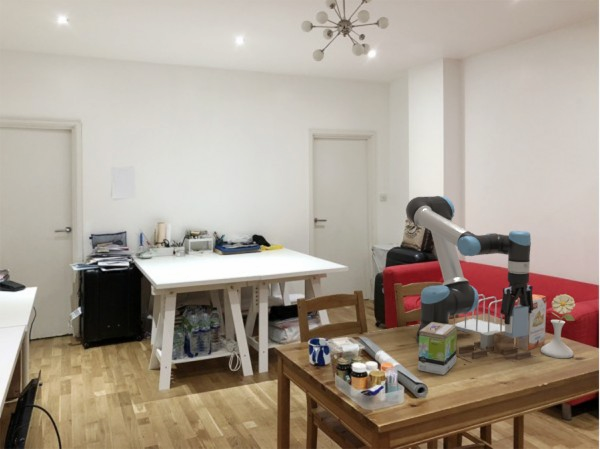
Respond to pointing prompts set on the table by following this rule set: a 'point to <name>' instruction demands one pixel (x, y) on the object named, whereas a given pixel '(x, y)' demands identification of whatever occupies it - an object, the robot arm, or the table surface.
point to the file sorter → (480, 325)
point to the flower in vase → (556, 345)
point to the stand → (471, 353)
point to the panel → (519, 322)
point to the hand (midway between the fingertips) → (516, 330)
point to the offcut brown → (502, 342)
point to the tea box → (437, 348)
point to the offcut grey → (487, 339)
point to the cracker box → (534, 325)
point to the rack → (507, 353)
